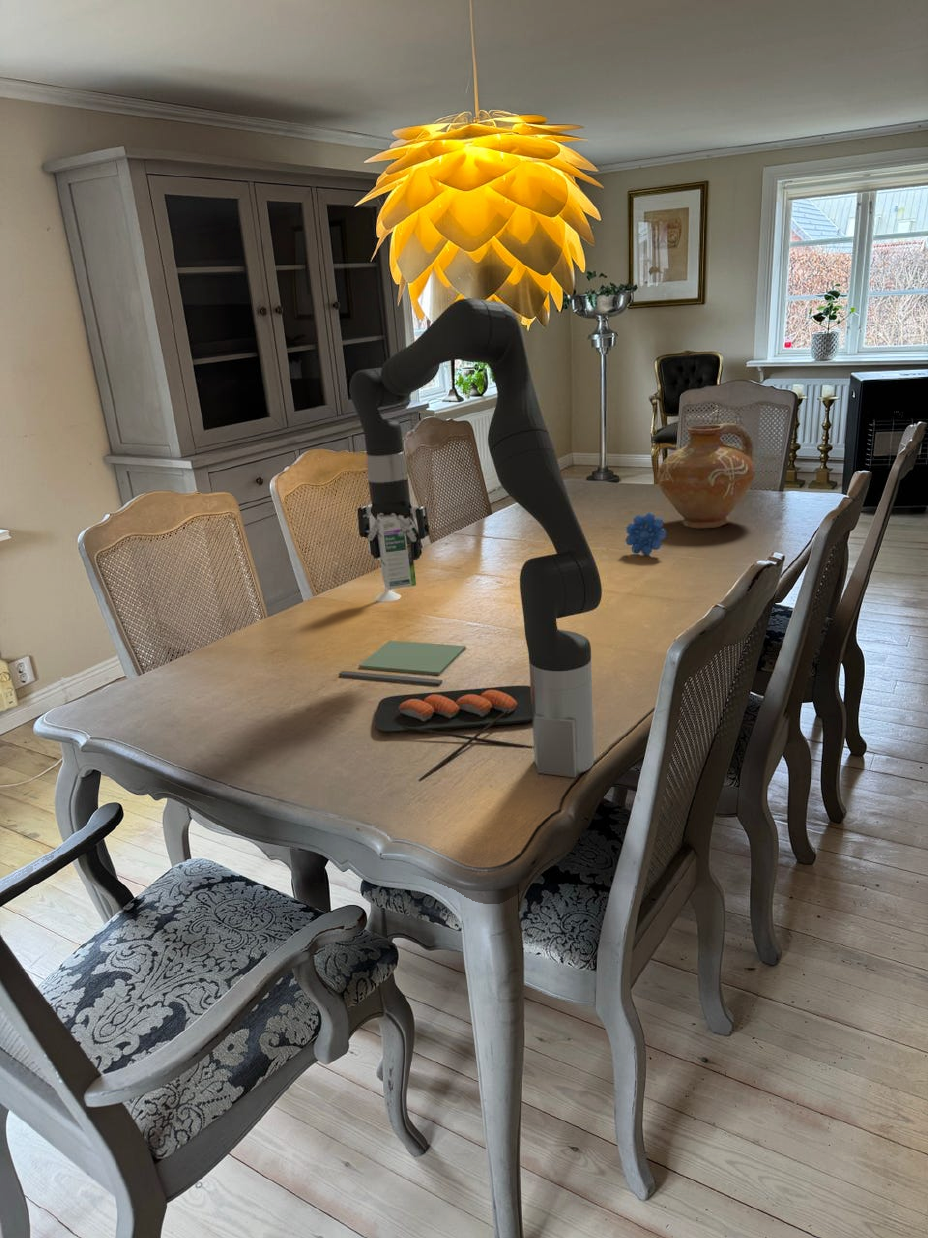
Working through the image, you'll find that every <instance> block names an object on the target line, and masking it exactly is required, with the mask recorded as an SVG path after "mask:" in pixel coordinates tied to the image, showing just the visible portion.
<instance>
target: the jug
mask: <svg viewBox="0 0 928 1238" xmlns="http://www.w3.org/2000/svg"><path fill="white" fill-rule="evenodd" d="M686 429H687V433H688V434H689V438H690V440H689V443H688V444H687V445H686V446H682V447H680V448H679V449H677V450H675V451H673V452H672V453H671V454H669V455H668V456H666V458H665V459H664V460H663V461H662V462H661V464H660V465H659V467H658V469H657V475H656V477H657V478H656V479H657V482H658V484H659V487H660V489H661V491H662V493H663V494H664V497H666V499H667V500H668V501H669V502H670V504H671V505H672V507H674V509H675V511H676V512H677V513H679V514H680V516H681V517H682V518H683V521H682V524H683V526H684V527H687V528H691V529H699V530H700V529H716V528H719V527H720V528H721V527H722V526H723V525H726V524H727V523H728V519H727V516H729V514H730V513H731V512H732V511H733V509H734V508H735V507H736V506H737V505H738V504H739V502H740V501H741V500H742V498H743V497H744V496H745V494H746V493H747V491H748V490H749V489H750V486H751V484H752V482H753V481H754V480H753V479H754V477H755V464H754V455H753V454H754V441H753V439H752V436H751V435H752V434H750V433H749V431H748V430H747V429H746V428H745V427H743V426H740V425H739V424H737V423H731V422H730V423H727V422H724V423H719V424H715V423H714V424H702V425H695V426H689V427H687V428H686ZM726 434H727V435H728V434H733V435H734V436H737V437H738V439H740V441H741V442H742V447H740V448H738V447H736V446H734V445H730V444H728V443H724V442H723V440H721V438H722V436H723V435H726Z"/></svg>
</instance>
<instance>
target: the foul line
mask: <svg viewBox="0 0 928 1238" xmlns="http://www.w3.org/2000/svg"><path fill="white" fill-rule="evenodd" d="M338 676H339V677H342V678H353V679H361V678H363V680H364V679H365V680H372V679H373V680H375V681H381V682H382V681H384V682H395V683H405V684H417V685H426V686H438V687H439V686H441V685H442V684H443V680H442V679H438V678H437V679H435V678H425V677H424V678H423V677H415V676H414V677H413V676H404V675H393V674H392V675H391V674H383V673H382V674H381V673H370V672H359V671H351V670H350V671H349V670H341V671H340V672H339V673H338ZM373 680H372V681H373Z"/></svg>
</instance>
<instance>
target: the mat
mask: <svg viewBox="0 0 928 1238" xmlns="http://www.w3.org/2000/svg"><path fill="white" fill-rule="evenodd" d="M466 649H467V647H466V646H465V645H457V644H454V645H453V644H452V645H451V644H442V643H441V644H440V643H429V642H428V643H427V642H415V641H413V642H412V641H402V640H388V641H387V642H386V643H384V644H383V645H382V646H380V648H379V649H377V650H376V651H375V652H373V654H371V655H370V656H369V657H367V658H366V659H365V660H364V661H362V662H360V664H359V665H358V667H359V669H365V670H366V669H367V670H380V671H388V672H389V671H391V672H401V673H410V674H411V673H412V674H422V675H434V676H441V675H442V673H444V671H445V670H446V669H447V668H448V667H449V666H450V665H452V664H453V663H454V662H455V660H456V659H457V658H459V657H460V655H461V654H462V653H463V652H465V650H466Z"/></svg>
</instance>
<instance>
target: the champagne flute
mask: <svg viewBox="0 0 928 1238" xmlns="http://www.w3.org/2000/svg"><path fill="white" fill-rule="evenodd" d="M367 506H368V507H372V503H371V504H367ZM369 520H370V531H371V530H372V527H373V525H374V523H375V521H376V520H375V518H374V516H373V515H372V514H371V516H370V517H369ZM368 550H369V553H371V550H370V542H369V541H368ZM377 560H378V561H379V562H381V560H380V558H378V559H377ZM383 585H384V590H383V592H382V593H380V594H379V595H377V596H376V597H375V598H374V599H375V601H376V602H380V603H381V602H383V603H385V602H387V603H388V602H394V601H397V600H399V599H401V598H402V595H401V594H399V593H398V592H394V591H393V590H388V588H387V587H386V586H385V584H384V583H383Z"/></svg>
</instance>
